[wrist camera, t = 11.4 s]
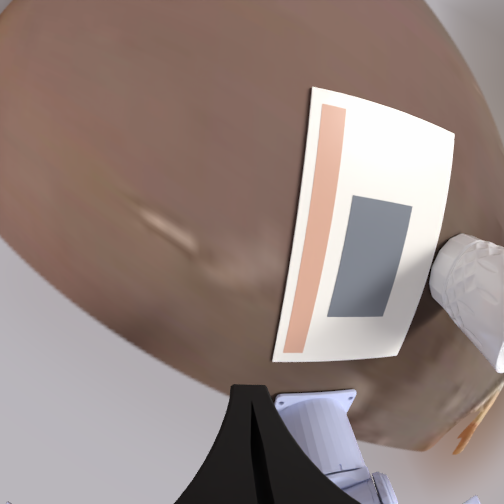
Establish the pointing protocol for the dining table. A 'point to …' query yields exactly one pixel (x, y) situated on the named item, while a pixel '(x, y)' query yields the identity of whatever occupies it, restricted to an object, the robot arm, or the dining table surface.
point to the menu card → (362, 229)
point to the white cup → (473, 292)
